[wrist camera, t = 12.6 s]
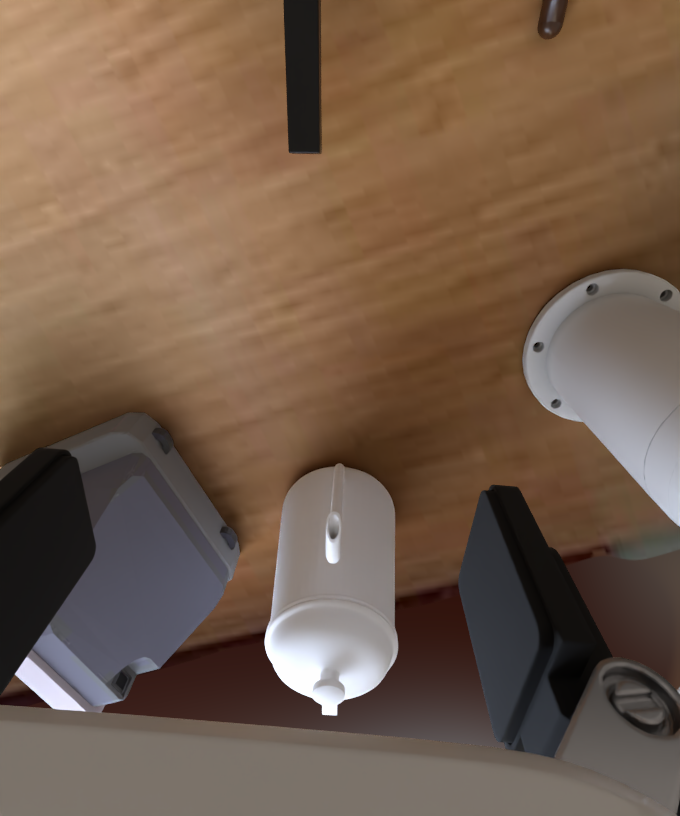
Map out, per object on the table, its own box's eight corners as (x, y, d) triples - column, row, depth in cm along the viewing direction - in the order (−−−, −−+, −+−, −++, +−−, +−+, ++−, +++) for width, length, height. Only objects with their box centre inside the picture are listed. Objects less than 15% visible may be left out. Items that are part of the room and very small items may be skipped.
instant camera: (-20, 444, 44) (-182, 561, 31) (182, 401, 42) (99, 510, 28) (86, 599, 54) (-5, 741, 40) (257, 572, 51) (221, 716, 37)
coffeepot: (405, 390, 40) (439, 547, 24) (385, 596, 52) (398, 800, 35) (279, 385, 41) (225, 537, 24) (287, 591, 52) (253, 792, 35)
